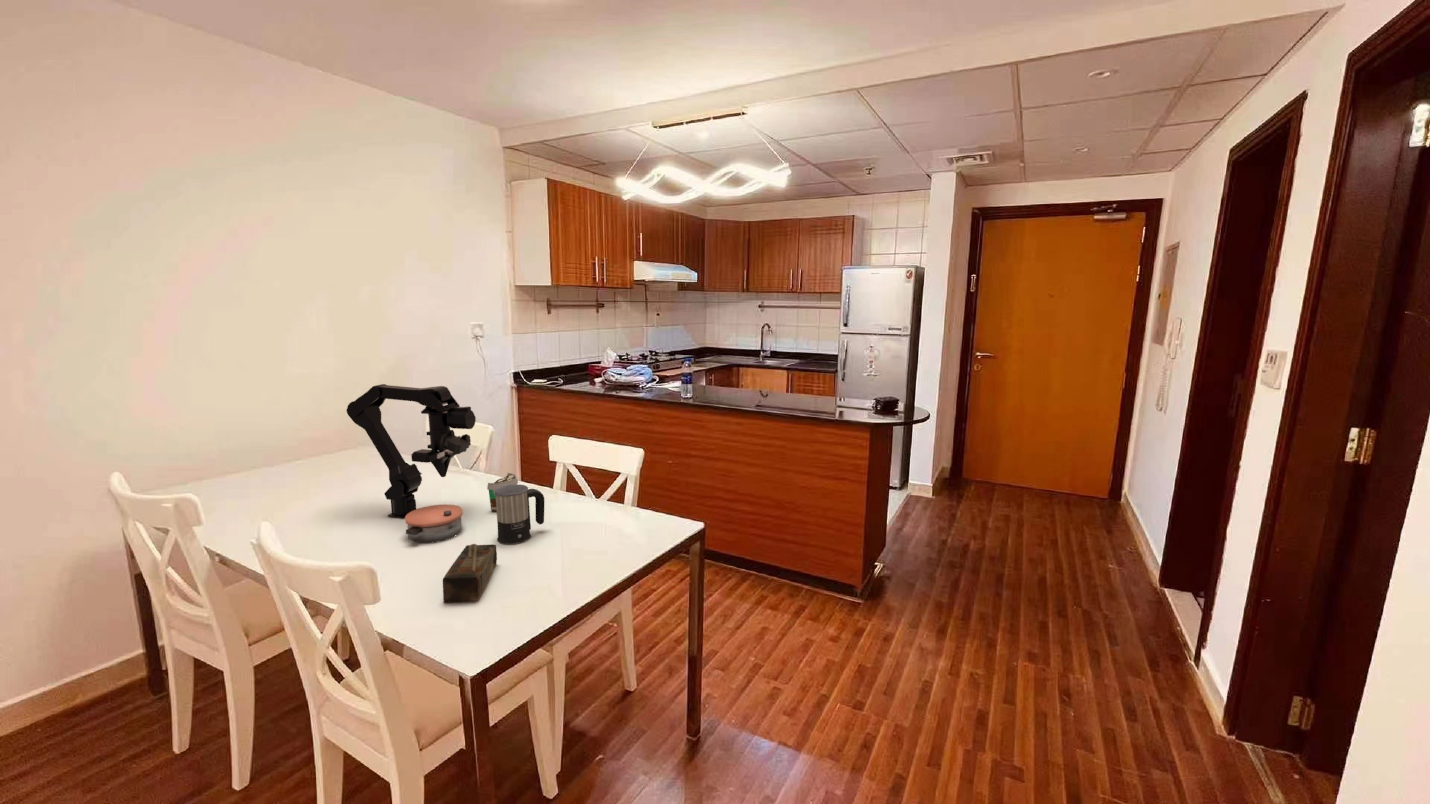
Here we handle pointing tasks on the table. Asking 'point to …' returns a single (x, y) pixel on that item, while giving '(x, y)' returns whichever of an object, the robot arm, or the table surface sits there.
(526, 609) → the table surface
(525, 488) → the milk frother
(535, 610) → the table surface
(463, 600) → the beverage carton
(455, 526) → the pot
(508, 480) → the food container
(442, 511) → the lid
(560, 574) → the table surface
